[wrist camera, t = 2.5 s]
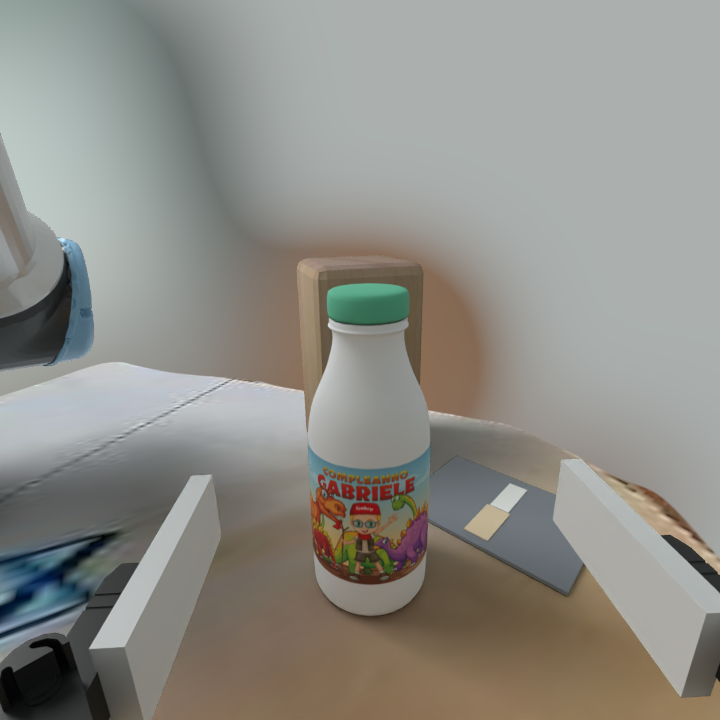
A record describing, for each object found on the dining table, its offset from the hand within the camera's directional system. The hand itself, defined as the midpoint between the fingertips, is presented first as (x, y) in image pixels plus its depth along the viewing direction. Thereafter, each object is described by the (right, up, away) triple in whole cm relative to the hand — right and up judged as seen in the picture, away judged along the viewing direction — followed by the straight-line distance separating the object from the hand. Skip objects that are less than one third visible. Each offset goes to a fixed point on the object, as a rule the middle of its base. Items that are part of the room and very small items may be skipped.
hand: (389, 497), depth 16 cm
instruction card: (+11, -8, +20) cm, 23 cm away
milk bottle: (0, -10, +14) cm, 17 cm away
